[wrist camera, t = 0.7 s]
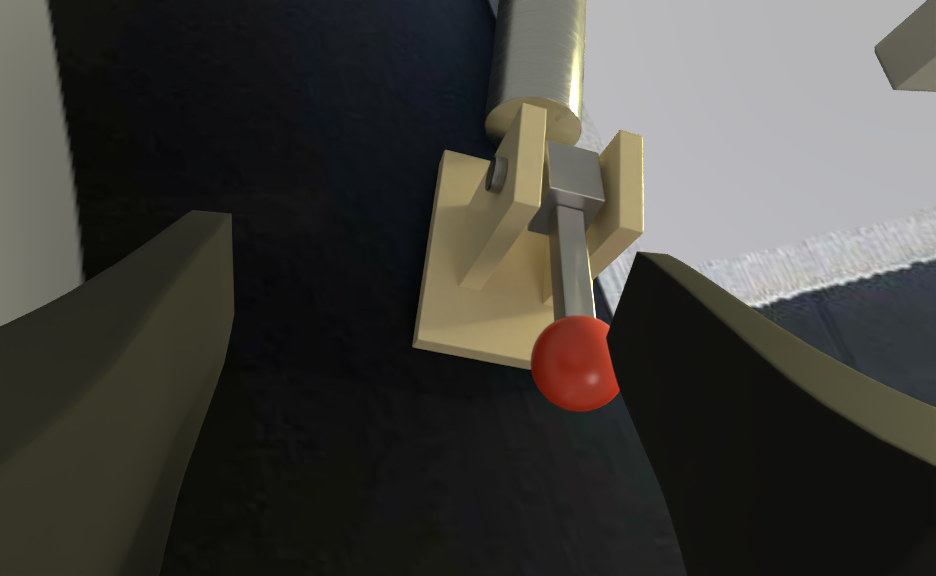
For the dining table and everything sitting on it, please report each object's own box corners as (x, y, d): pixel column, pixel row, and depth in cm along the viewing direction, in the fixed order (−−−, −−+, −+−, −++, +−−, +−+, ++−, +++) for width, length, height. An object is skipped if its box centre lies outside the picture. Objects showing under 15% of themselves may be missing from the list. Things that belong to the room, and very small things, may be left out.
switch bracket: (579, 379, 31) (684, 311, 23) (411, 347, 29) (463, 262, 21) (585, 199, 35) (675, 90, 27) (439, 162, 33) (490, 35, 26)
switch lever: (606, 435, 21) (652, 388, 19) (518, 419, 21) (554, 369, 18) (580, 202, 28) (611, 149, 26) (513, 186, 28) (539, 129, 25)
